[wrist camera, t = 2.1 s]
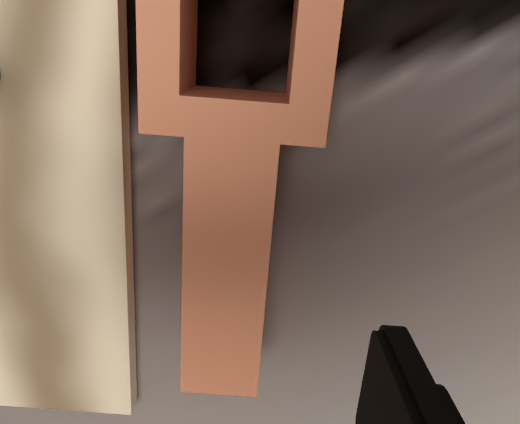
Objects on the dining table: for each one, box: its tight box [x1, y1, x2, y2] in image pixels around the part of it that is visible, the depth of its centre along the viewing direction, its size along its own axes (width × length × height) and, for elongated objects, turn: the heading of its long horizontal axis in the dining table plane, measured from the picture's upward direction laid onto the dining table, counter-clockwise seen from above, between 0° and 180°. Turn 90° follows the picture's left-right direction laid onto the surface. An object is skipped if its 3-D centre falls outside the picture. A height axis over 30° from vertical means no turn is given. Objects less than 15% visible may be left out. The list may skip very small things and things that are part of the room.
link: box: [136, 0, 344, 397], centre depth 20 cm, size 19×7×4 cm, turn 176°
